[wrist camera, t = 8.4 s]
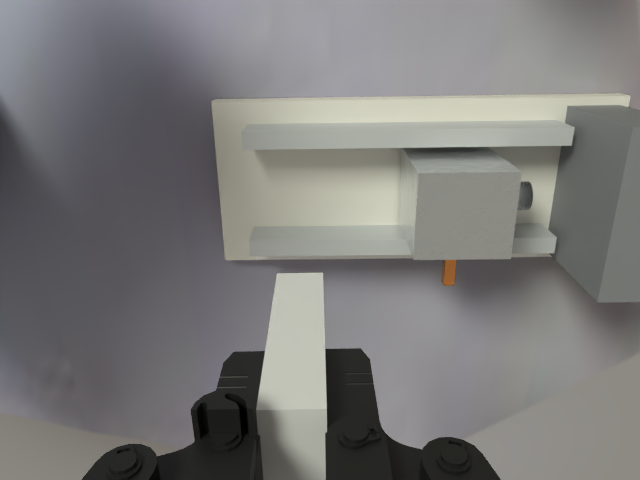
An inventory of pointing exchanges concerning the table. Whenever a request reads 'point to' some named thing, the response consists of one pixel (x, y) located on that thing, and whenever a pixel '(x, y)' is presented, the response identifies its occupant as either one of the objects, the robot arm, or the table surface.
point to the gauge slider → (459, 204)
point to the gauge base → (422, 132)
